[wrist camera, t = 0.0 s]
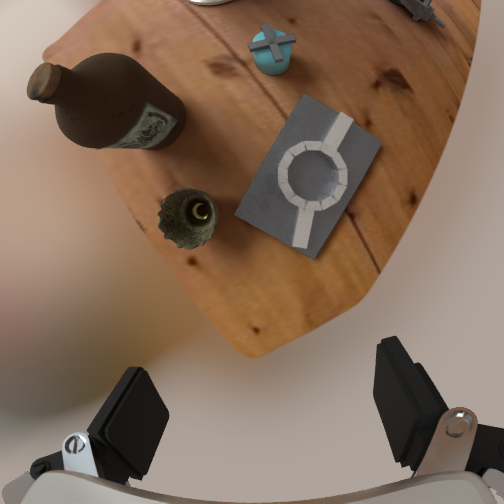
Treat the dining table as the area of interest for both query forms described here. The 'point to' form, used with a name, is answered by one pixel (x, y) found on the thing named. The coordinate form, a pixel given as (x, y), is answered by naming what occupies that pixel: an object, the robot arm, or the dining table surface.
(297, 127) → the coupling base
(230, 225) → the dining table surface
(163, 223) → the cup
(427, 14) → the caster wheel
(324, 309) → the dining table surface
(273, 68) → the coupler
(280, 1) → the dining table surface
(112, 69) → the olive oil
